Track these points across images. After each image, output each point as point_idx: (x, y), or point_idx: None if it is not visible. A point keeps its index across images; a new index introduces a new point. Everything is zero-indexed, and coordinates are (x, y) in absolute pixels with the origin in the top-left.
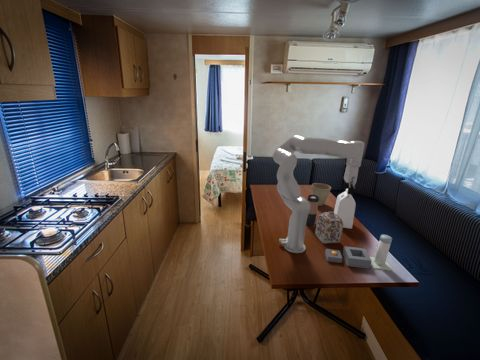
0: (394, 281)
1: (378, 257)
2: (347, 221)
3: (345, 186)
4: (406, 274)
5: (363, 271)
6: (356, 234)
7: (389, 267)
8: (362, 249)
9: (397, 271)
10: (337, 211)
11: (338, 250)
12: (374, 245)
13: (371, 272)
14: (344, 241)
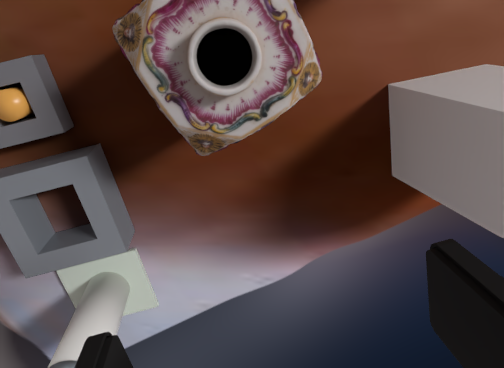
0: (15, 328)
1: (79, 302)
2: (412, 158)
3: (451, 290)
4: None
5: None
6: (334, 197)
7: None
8: (109, 241)
9: None
10: (455, 98)
11: (59, 126)
12: (260, 269)
13: None
14: (232, 146)
